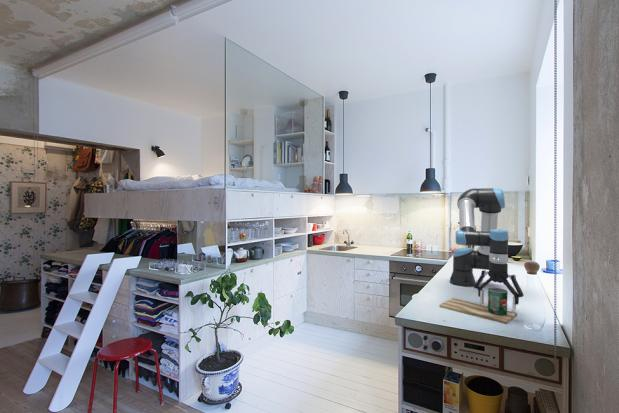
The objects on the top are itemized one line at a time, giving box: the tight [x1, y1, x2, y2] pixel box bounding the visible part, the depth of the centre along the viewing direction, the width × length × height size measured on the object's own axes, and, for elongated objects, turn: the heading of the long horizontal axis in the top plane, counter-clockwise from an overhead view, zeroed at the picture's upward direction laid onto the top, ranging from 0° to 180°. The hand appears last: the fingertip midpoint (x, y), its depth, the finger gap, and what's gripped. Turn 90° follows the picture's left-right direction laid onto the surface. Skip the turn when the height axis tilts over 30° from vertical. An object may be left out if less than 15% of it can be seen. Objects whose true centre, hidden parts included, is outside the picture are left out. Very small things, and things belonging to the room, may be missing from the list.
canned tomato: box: [487, 287, 508, 316], centre depth 149 cm, size 8×8×11 cm
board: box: [439, 297, 518, 325], centre depth 156 cm, size 16×30×1 cm, turn 43°
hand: (497, 307), depth 149 cm, fingers open, 13 cm apart
